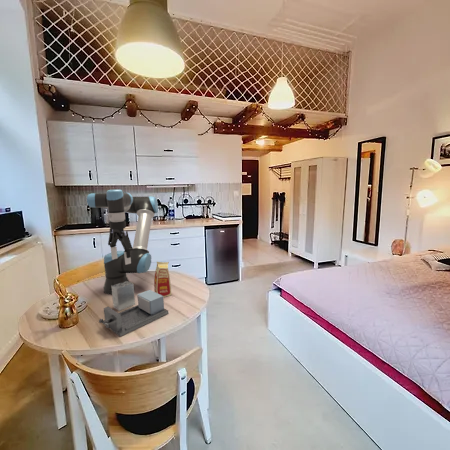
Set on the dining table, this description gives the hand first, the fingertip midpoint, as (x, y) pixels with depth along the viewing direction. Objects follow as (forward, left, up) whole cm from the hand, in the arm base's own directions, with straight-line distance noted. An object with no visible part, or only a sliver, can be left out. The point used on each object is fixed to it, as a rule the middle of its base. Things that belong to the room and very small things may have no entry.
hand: (121, 261), depth 132 cm
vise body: (+17, -5, -25) cm, 30 cm away
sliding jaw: (+17, +5, -23) cm, 29 cm away
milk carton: (+4, +22, -25) cm, 33 cm away
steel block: (0, 0, -25) cm, 25 cm away
